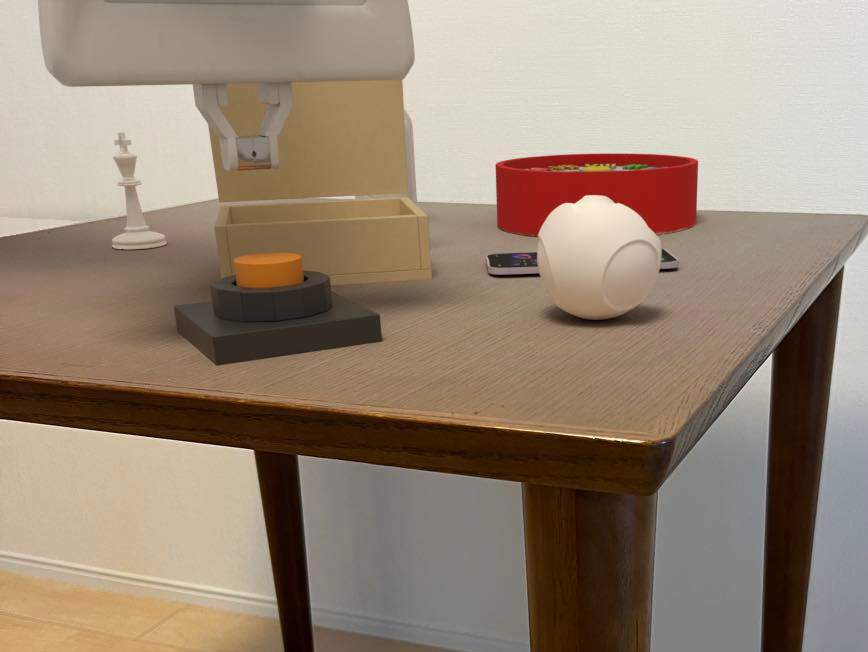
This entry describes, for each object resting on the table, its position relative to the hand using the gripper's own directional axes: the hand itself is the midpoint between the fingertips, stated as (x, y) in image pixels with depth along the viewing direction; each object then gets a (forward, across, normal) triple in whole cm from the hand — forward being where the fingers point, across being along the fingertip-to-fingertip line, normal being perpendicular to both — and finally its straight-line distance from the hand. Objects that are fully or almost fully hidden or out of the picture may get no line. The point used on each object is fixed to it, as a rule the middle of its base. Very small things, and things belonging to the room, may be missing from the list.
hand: (251, 169), depth 63 cm
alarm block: (+10, 0, 0) cm, 10 cm away
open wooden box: (+10, -10, -20) cm, 24 cm away
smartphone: (+10, -28, -10) cm, 32 cm away
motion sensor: (+10, -19, +7) cm, 23 cm away
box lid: (-2, -12, -25) cm, 27 cm away
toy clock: (+10, -42, -30) cm, 53 cm away
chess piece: (+10, 0, -44) cm, 45 cm away
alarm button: (+7, 0, 0) cm, 7 cm away
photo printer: (+10, -25, -44) cm, 52 cm away
